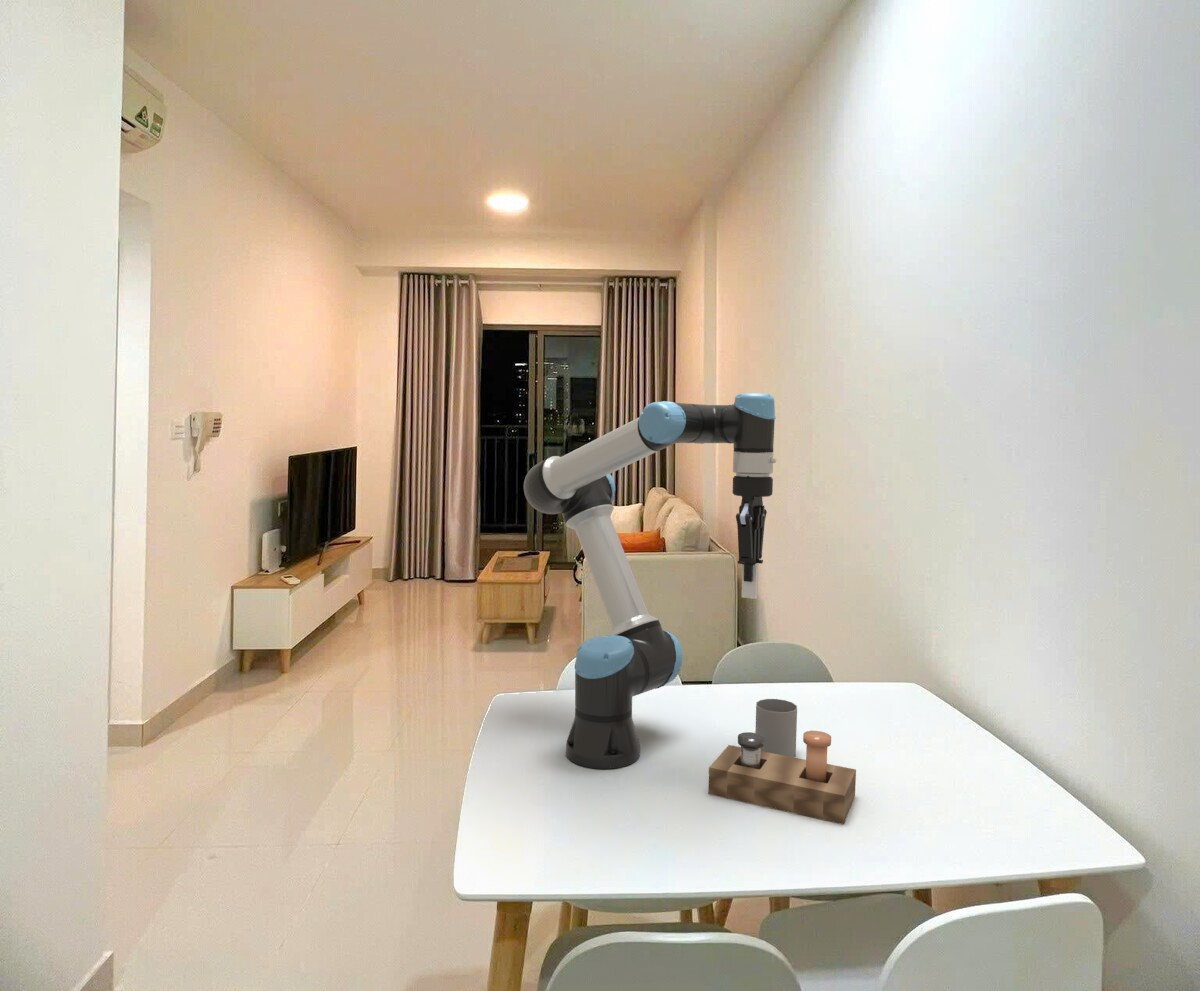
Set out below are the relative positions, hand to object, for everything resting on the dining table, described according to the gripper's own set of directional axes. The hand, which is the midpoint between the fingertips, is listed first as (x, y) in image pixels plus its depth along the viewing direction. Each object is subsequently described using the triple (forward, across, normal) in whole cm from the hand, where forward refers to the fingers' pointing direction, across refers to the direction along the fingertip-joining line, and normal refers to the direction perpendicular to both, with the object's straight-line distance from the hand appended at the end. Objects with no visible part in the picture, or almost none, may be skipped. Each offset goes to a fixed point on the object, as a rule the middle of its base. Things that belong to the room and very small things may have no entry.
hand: (749, 597), depth 151 cm
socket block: (+34, -7, -9) cm, 36 cm away
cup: (+35, +12, -3) cm, 37 cm away
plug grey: (+33, -7, -3) cm, 34 cm away
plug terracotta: (+31, -7, -15) cm, 35 cm away
